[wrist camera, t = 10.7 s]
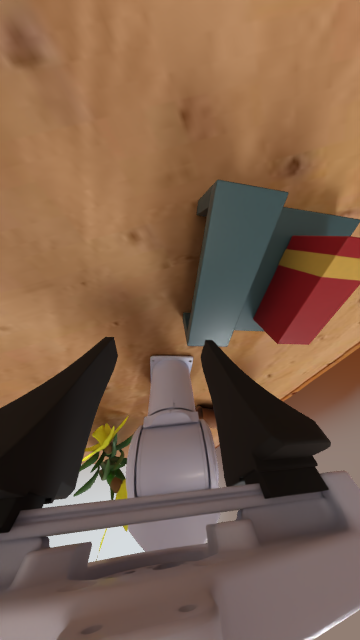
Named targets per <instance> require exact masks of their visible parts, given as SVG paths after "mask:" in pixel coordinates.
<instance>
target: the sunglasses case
mask: <svg viewBox="0 0 360 640" xmlns="http://www.w3.org/2000/svg"><path fill="white" fill-rule="evenodd" d="M195 410H196V412H198V416H199V419H204V421H205V422H206V423H207V424H208V425H209V427H210V428H212V429H217V424H216V419H215V413H214V410H213V409H207V408H202V407H201V406H197V407H196V408H195Z"/></svg>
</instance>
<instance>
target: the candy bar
mask: <svg viewBox="0 0 360 640" xmlns="http://www.w3.org/2000/svg"><path fill="white" fill-rule="evenodd" d="M359 285H360V238H358V237H351V236H292V238H291V240H290V242H289V244H288V246H287V248H286V250H285V252H284V254H283V256H282V258H281V260H280V262H279V264H278V267H277V270H276V272H275V274H274V276H273V278H272V280H271V282H270V284H269V287H268V289H267V291H266V293H265V295H264V297H263V299H262V301H261V303H260V306H259V308H258V310H257V312H256V314H255V316H254V318H253V320H254V321H255V322H256V323H257V324H258V325H259V326H260V327H261V328H262V329H263V330H264V331H265V332H266V333H267V334H268V335H269V336H270V337H271V338H272V339H273V340H274V341H275V342H276V343H277V344H306V345H309V344H310V343H311V342H312V340H313V339H314V338H315V337H316V336H317V334H318V333H319V332H320V331H321V330H322V329H323V327H324V326H325V325H326V324H327V323H328V321H329V320H330V319H331V318H332V317H333V316H334V314H335V313H336V312H337V311H338V310H339V308H340V307H341V306H342V305H343V304H344V302H345V301H346V300H347V299H348V298H349V297H350V295H351V294H352V293H353V292H354V291H355V289H356V288H357V287H358V286H359Z"/></svg>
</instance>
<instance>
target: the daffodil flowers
mask: <svg viewBox="0 0 360 640" xmlns="http://www.w3.org/2000/svg"><path fill="white" fill-rule="evenodd" d="M128 416H129V415H128ZM127 418H128V417H127ZM127 418H126V419H125V420H124V421H123V422H122V423H121V425H120V426H119V427H118V428H117V429H116V430H115V431H114V426H113V427H112V429H110V427H109V425H108V424H107V423H106V425H105V427H104V426H102V425H101V426H100V427H99V428H97V430H95V432H93V434H92V436H93V437H94V438H95V439H96V440H97V441H98V442H99V443H98V444H96V445H94V446H92V447H90V448H86V449H85V451H93V452H92V453H91V454H89V455H88V456H87V457H85V458H84V459H82V461H85V460H87V459H88V458H89V457H90V456H92V455H93V454H94V453H95V454H94V455H93V456H92V457H91V458H90V459H89V460H87V461H86V462H85V463H84V464H83V465H82V466H81V467H80V470H79V471H81V470H83V469H85V468H87V467H88V466H90V465H91V464H93V463H94V462H95V461H96V460H97V459H98V457H99V451H101V450H103V453H102V455H101V457H100V458H99V460H98V461H97V463H96V464H95V466H94V467H93V469H92V471H91V472H93V471H94V470H95V469H96V468H97V467H98V470H97V471H96V473H95V474H94V476H93V477H92V478H91V479H90V480H89V481H88V482H87V483H86V484H85V485H84V486H83V487H81V488H80V489H79V490H78V491H77V492H76V493H75V494H74V496H77V495H79V494H81V493H83V492H85V491H86V490H88V489H89V488H90V487H91V486H92V484H93V483H94V482H95V480H96V478H97V476H98V473H99V475H100V477H101V480H107V482H108V484H109V485H110V490H111V500H113V498H114V493H117V495H116V499H115V500H118V499H127V489H126V479H125V477H124V475H123V473H122V472H121V470H120V469H119V468H121V467H123V466H125V464H127V458H124V452H123V451H122V450H121V449H122V448H124V447H126V446H127V445H129V444H130V443H131V440H132V437H133V435H134V434H133V435H132V436H131V437H129V438H128V439H127V440H125V441H124V442H122V443H120V444H118V445H116V444H117V432H118V431H119V430H120V429H121V427H122V426H123V425H124V424H125V422H126V420H127ZM113 432H114V433H113ZM114 436H115V437H114ZM113 437H114V440H113V443H112V444H111V443H110V442H111V440H112V439H113ZM117 450H119V451H120V452H121V456H120V457H116V456H115V455H116V451H117ZM111 453H112V454H111ZM105 456H107V457H109V459H107V460H105V461H104V462H102V461H103V459H104V457H105ZM100 466H101V467H102V470H100V471H99V469H100ZM123 527H124V529H125V531H127V529H128V525H125V526H123ZM106 530H107V529H106ZM106 530H105V532H106ZM104 536H105V534H104ZM104 536H103V538H102V542H103V539H104ZM102 542H101V544H100V548H101V545H102ZM99 551H100V550H99Z"/></svg>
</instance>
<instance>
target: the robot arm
mask: <svg viewBox="0 0 360 640" xmlns="http://www.w3.org/2000/svg"><path fill="white" fill-rule="evenodd" d="M117 357H118V354H117V350H116V345H115V340H114V337H105V338H104V339H102V340H101V341H100V342H99V343H98V344H96V345H95V346H94V347H93V348H92V349H90V350H89V351H88V352H87V353H85V354H84V355H83V356H82V357H81V358H79V359H78V360H77V361H75V362H74V363H73V364H71V365H70V366H69V367H67V368H66V369H65V370H63V371H62V372H60V373H59V374H57V375H56V376H54V377H53V378H51V379H50V380H48V381H47V382H45V383H44V384H42V385H40V386H39V387H37V388H35V389H34V390H32V391H30V392H29V393H27V394H25V395H23V396H22V397H20V398H18V399H17V400H15V401H13V402H11V403H9V404H7V405H6V406H4V407H2V408H0V640H313V639H315V638H317V637H318V636H320V635H321V634H323V633H324V632H326V631H328V630H329V629H331V628H332V627H334V626H335V625H337V624H338V623H340V622H341V621H343V620H345V619H346V618H348V617H349V616H351V615H352V614H354V613H355V612H357V611H359V610H360V489H359V487H358V486H357V485H356V483H355V482H354V481H353V479H352V478H351V477H350V475H349V474H348V473H347V472H346V471H336V472H327V473H322V474H319V473H318V471H317V469H316V468H315V466H317V462H316V461H315V459H314V458H313V455H315V454H317V453H319V452H321V451H323V450H325V449H327V448H328V447H330V445H331V442H330V440H329V439H328V438H327V437H326V435H325V434H324V433H323V431H322V430H321V429H320V428H319V426H318V425H317V424H316V423H315V421H313V420H312V419H310V418H309V417H307V416H305V415H303V414H302V413H300V412H298V411H297V410H295V409H293V408H292V407H290V406H289V405H287V404H286V403H284V402H283V401H281V400H279V399H278V398H277V397H275V396H274V395H272V394H271V393H269V392H268V391H267V390H265V389H264V388H263V387H261V386H260V385H259V384H257V383H256V382H255V381H254V380H252V379H251V378H250V377H249V376H248V375H246V374H245V373H244V372H243V371H242V370H241V369H240V368H239V367H238V366H237V365H236V364H234V363H233V362H232V361H231V360H230V358H229V357H228V356H227V355H226V354H225V353H224V352H223V351H222V350H221V349H220V348H219V347H218V345H217V344H216V343H215V342H214V341H213V340H205V343H204V347H203V350H202V354H201V362H202V368H203V372H204V375H205V378H206V382H207V385H208V388H209V392H210V395H211V399H212V403H213V408H214V413H215V419H216V424H217V430H218V436H219V442H220V448H221V456H222V463H223V470H224V478H225V481H226V486H227V487H223V488H219V486H218V479H219V474H218V464H217V457H216V452H215V446H214V442H213V437H212V434H211V430H210V428H209V425H208V424H207V423H206V422H205V421H204V419H199V416H198V412H196V410H195V404H194V398H193V391H192V385H191V379H190V372H191V367H192V363H193V357H192V356H151V357H150V368H151V390H150V400H149V409H148V417H144V424H143V425H141V426H139V427H138V428H137V430H136V431H135V433H134V435H133V437H132V440H131V443H130V447H129V452H128V458H127V467H126V489H127V499H118V500H109V501H100V502H92V503H84V504H74V505H66V506H57V507H48V508H42V506H43V504H49V503H52V502H53V501H54V500H55V499H65V498H67V497H68V496H69V495H70V494H71V493H72V492H73V490H74V489H75V486H76V482H77V478H78V474H79V470H80V467H81V463H82V459H83V455H84V452H85V448H86V445H87V441H88V438H89V434H90V431H91V428H92V425H93V421H94V418H95V415H96V412H97V409H98V406H99V403H100V401H101V398H102V396H103V394H104V391H105V389H106V387H107V384H108V382H109V380H110V377H111V375H112V373H113V370H114V368H115V364H116V361H117ZM234 510H239V511H238V513H237V519H236V520H235V521H228V522H221V523H217V522H218V520H219V517H220V512H227V511H234ZM125 525H128V530H129V532H130V533H131V534H132V536H133V537H134V538H135V540H136V541H137V542H138V544H139V545H140V546H141V547H142V548H143V550H144V551H145V552H142V553H137V554H131V555H126V556H121V557H116V558H110V559H105V560H100V561H95V562H90V563H88V559H89V555H90V551H91V546H92V543H91V542H86V543H79V544H72V545H65V546H60V547H54V548H50V547H49V538H48V537H46V536H53V535H60V534H67V533H75V532H82V531H89V530H96V529H103V528H110V527H118V526H125ZM206 541H208V543H206Z"/></svg>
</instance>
